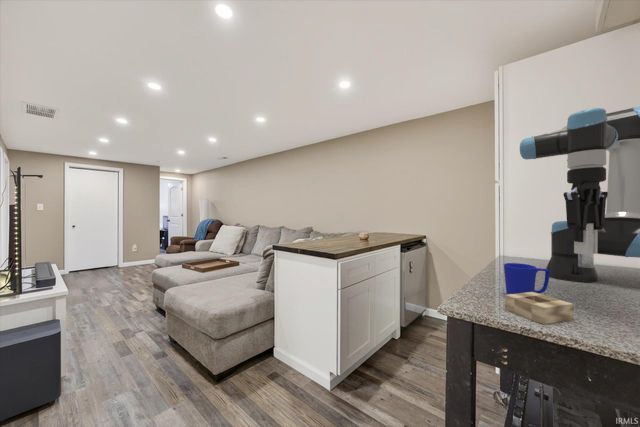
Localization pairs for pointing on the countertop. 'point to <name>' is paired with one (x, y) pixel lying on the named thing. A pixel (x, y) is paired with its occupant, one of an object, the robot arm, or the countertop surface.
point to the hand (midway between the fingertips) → (585, 253)
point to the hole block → (539, 307)
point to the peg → (588, 260)
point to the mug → (523, 278)
